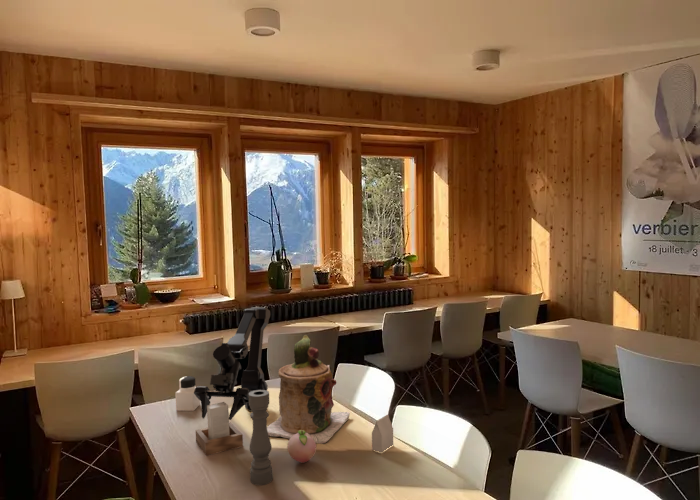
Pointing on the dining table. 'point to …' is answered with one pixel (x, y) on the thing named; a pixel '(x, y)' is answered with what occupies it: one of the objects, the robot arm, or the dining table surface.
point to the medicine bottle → (186, 395)
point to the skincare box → (218, 420)
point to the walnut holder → (219, 440)
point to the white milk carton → (382, 434)
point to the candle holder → (260, 438)
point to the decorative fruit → (301, 446)
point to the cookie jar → (307, 397)
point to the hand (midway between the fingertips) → (216, 418)
